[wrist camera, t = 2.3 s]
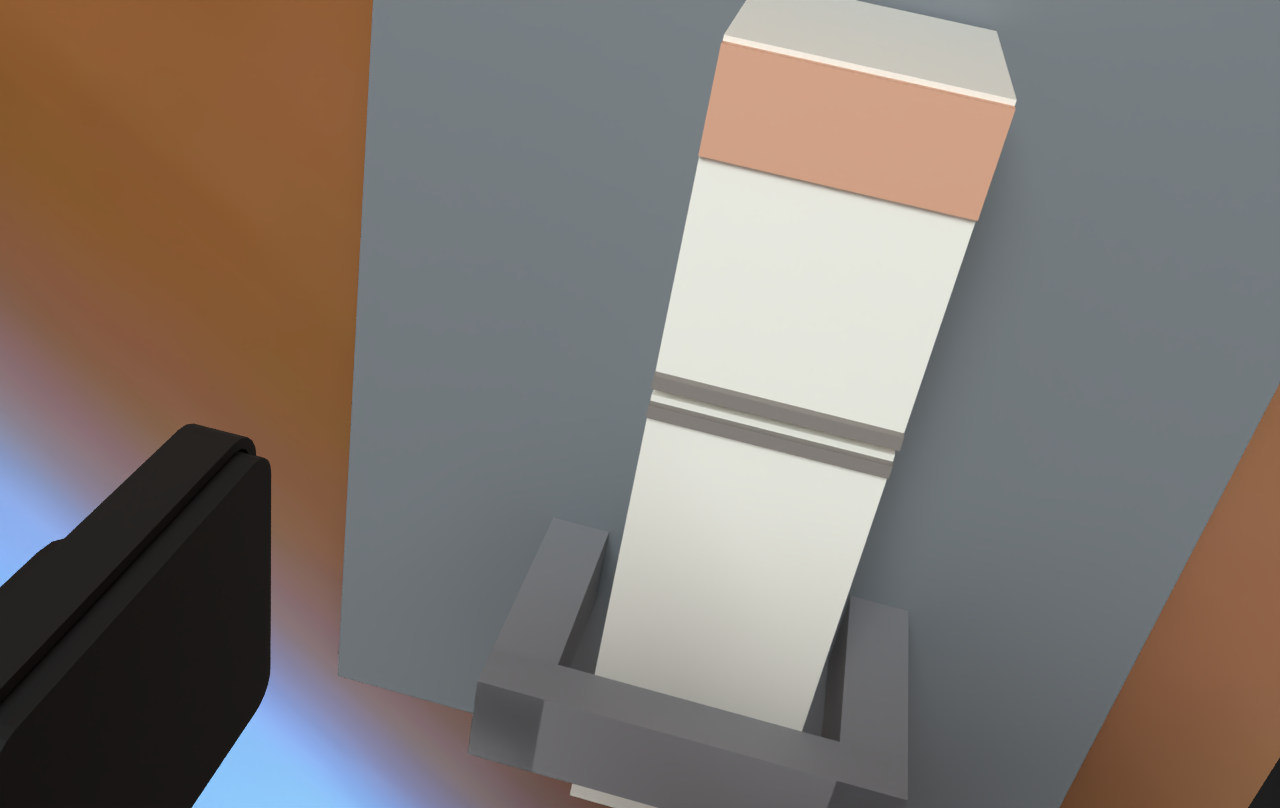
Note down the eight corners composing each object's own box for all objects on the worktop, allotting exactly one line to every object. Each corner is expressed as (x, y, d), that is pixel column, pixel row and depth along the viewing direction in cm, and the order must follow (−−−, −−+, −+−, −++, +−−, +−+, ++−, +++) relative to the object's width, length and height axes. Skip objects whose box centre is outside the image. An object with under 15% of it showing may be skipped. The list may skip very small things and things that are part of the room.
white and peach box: (996, 31, 24) (1018, 103, 20) (901, 329, 28) (898, 453, 23) (759, -22, 25) (722, 37, 20) (695, 279, 28) (650, 390, 24)
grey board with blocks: (1666, -390, 20) (2005, -450, 14) (1026, 855, 36) (1049, 1084, 30) (415, -614, 22) (218, -755, 16) (344, 664, 38) (234, 843, 32)
